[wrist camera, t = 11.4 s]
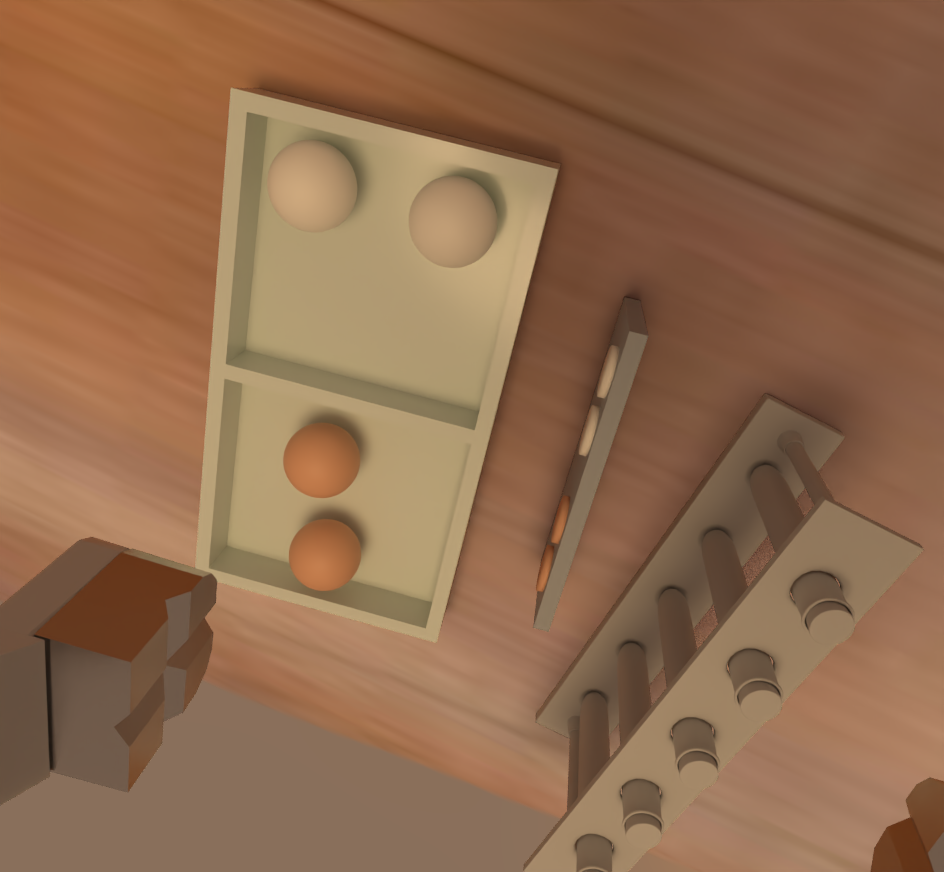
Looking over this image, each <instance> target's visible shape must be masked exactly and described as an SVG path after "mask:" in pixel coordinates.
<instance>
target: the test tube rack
mask: <svg viewBox="0 0 944 872" xmlns="http://www.w3.org/2000/svg"><path fill="white" fill-rule="evenodd" d="M844 438H845V437H844V436H843V434H842V433H841V432H840V431H838V430H837V429H835V428H833V427H831V426H829V425H827V424H825V423H823V422H821V421H819V420H817V419H815V418H813V417H811V416H809V415H807V414H805V413H803V412H801V411H799V410H797V409H795V408H794V407H792V406H790V405H788V404H786V403H784V402H782V401H780V400H778V399H776V398H774V397H772V396H770V395H768V394H766V393H765V394H764V395H763V396H762V398H761V399H760V400H759V402H758V403H757V405H756V406H755V407H754V409H753V410H752V412H751V413H750V415H749V416H748V417H747V419H746V420H745V422H744V423H743V424H742V426H741V427H740V429H739V430H738V431H737V433H736V434H735V436H734V437H733V438H732V440H731V441H730V443H729V444H728V446H727V447H726V448H725V450H724V451H723V453H722V454H721V455H720V457H719V458H718V460H717V461H716V462H715V464H714V465H713V467H712V468H711V469H710V471H709V472H708V474H707V475H706V476H705V478H704V479H703V481H702V482H701V483H700V485H699V486H698V488H697V489H696V490H695V492H694V493H693V495H692V496H691V497H690V499H689V500H688V502H687V503H686V504H685V506H684V507H683V509H682V510H681V511H680V513H679V514H678V516H677V517H676V518H675V520H674V521H673V523H672V524H671V525H670V527H669V528H668V530H667V531H666V533H665V534H664V535H663V537H662V538H661V540H660V541H659V542H658V544H657V545H656V547H655V548H654V549H653V551H652V552H651V554H650V555H649V556H648V558H647V559H646V561H645V562H644V563H643V565H642V566H641V568H640V569H639V570H638V572H637V573H636V575H635V576H634V577H633V579H632V580H631V582H630V583H629V584H628V586H627V587H626V589H625V590H624V591H623V593H622V594H621V596H620V597H619V598H618V600H617V601H616V603H615V604H614V605H613V607H612V608H611V610H610V611H609V612H608V614H607V615H606V617H605V618H604V619H603V621H602V622H601V624H600V625H599V627H598V628H597V629H596V631H595V632H594V634H593V635H592V636H591V638H590V639H589V641H588V642H587V643H586V645H585V646H584V648H583V649H582V650H581V652H580V653H579V655H578V656H577V657H576V659H575V660H574V662H573V663H572V664H571V666H570V667H569V669H568V670H567V671H566V673H565V674H564V676H563V677H562V678H561V680H560V681H559V683H558V684H557V685H556V687H555V688H554V690H553V691H552V692H551V694H550V695H549V697H548V698H547V699H546V701H545V702H544V704H543V705H542V706H541V708H540V709H539V711H538V712H537V713H536V721H535V722H536V723H538V724H540V725H542V726H544V727H546V728H548V729H550V730H553V731H555V732H557V733H559V734H561V735H563V736H565V737H567V738H570V746H569V773H568V800H567V812H566V813H565V814H564V816H563V817H562V818H561V819H560V821H559V822H558V823H557V824H556V825H555V827H554V828H553V829H552V830H551V832H550V833H549V834H548V835H547V837H546V838H545V839H544V840H543V842H542V843H541V844H540V845H539V846H538V848H537V849H536V850H535V851H534V853H533V854H532V855H531V857H530V858H529V859H528V860H527V862H526V863H525V864H524V868H523V871H524V872H628V871H629V870H630V869H631V868H632V867H633V866H634V865H635V864H636V862H637V861H638V860H639V859H640V858H641V857H642V856H643V855H644V854H645V853H646V852H647V851H648V849H650V848H653V847H655V846H657V845H658V844H659V843H660V841H661V839H662V834H663V833H664V832H665V831H666V830H667V829H668V828H669V827H670V825H671V824H672V823H673V822H674V821H675V820H676V819H677V818H678V817H679V816H680V815H681V814H682V812H683V811H684V810H685V809H686V808H687V807H688V806H689V805H690V804H691V803H692V802H693V800H694V799H695V798H696V797H697V796H698V795H699V794H700V793H701V792H702V791H703V790H704V789H705V788H708V787H710V786H712V785H713V784H714V783H715V782H716V781H717V779H718V773H719V772H720V771H721V770H722V769H723V768H724V767H725V766H726V765H727V763H728V762H729V761H730V760H731V759H732V758H733V757H734V756H735V755H736V754H737V753H738V752H739V750H740V749H741V748H742V747H743V746H744V745H745V744H746V743H747V742H748V741H749V740H750V738H751V737H752V736H753V735H754V734H755V733H756V732H757V731H758V730H759V729H760V728H761V727H762V725H763V724H764V723H765V722H766V721H768V720H771V719H773V718H775V717H776V716H777V715H778V714H779V713H780V711H781V709H782V704H783V703H784V702H785V700H786V699H787V698H788V697H789V696H790V695H791V694H792V693H793V692H794V691H795V690H796V688H797V687H798V686H799V685H800V684H801V683H802V682H803V681H804V680H805V679H806V678H807V676H808V675H809V674H810V673H811V672H812V671H813V670H814V669H815V668H816V667H817V666H818V665H819V663H820V662H821V661H822V660H823V659H824V658H825V657H826V656H827V655H828V654H829V653H830V651H831V650H832V649H833V648H834V647H835V646H836V645H837V644H840V643H842V642H844V641H846V640H847V639H848V638H849V637H850V636H851V635H852V633H853V632H854V629H855V624H856V623H857V622H858V621H859V620H860V619H861V618H862V617H863V616H864V615H865V613H866V612H867V611H868V610H869V609H870V608H871V607H872V606H873V605H874V604H875V603H876V602H877V600H878V599H879V598H880V597H881V596H882V595H883V594H884V593H885V592H886V591H887V590H888V588H889V587H890V586H891V585H892V584H893V583H894V582H895V581H896V580H897V579H898V578H899V576H900V575H901V574H902V573H903V572H904V571H905V570H906V569H907V568H908V567H909V566H910V564H911V563H912V562H913V561H914V560H915V559H916V558H917V557H918V556H919V555H920V554H921V552H922V551H923V550H924V549H923V547H922V546H921V545H920V544H919V543H917V542H915V541H913V540H911V539H909V538H907V537H905V536H903V535H901V534H899V533H897V532H895V531H893V530H891V529H889V528H887V527H885V526H883V525H881V524H879V523H877V522H875V521H873V520H871V519H869V518H867V517H865V516H863V515H861V514H859V513H857V512H855V511H853V510H852V509H850V508H848V507H846V506H844V505H842V504H840V503H838V502H836V501H835V500H834V498H833V496H832V495H831V493H830V491H829V490H828V488H827V486H826V485H825V483H824V481H823V480H822V478H821V476H820V475H819V473H818V471H819V470H820V469H821V467H822V466H823V465H824V464H825V462H826V461H827V460H828V459H829V457H830V456H831V455H832V454H833V452H834V451H835V450H836V448H837V447H838V446H839V445H840V443H841V442H842V441H843V440H844ZM805 488H806V490H807V492H808V494H809V496H810V498H811V499H812V501H813V503H814V506H813V508H812V509H811V510H810V511H809V512H808V514H807V515H806V516H805V517H804V515H803V513H802V511H801V509H800V507H799V505H798V503H797V501H796V499H797V498H798V496H799V495H800V494H801V493H802V491H803V490H804V489H805ZM767 536H769V538H770V541H771V543H772V546H773V548H774V551H775V554H774V556H773V557H772V558H771V559H770V561H769V562H768V563H767V564H766V566H765V567H764V568H763V569H762V571H761V572H760V573H759V574H758V576H757V577H756V578H755V579H754V580H753V582H752V583H751V584H750V585H749V587H748V586H747V582H746V579H745V576H744V573H743V570H742V567H743V566H744V565H745V563H746V562H747V561H748V560H749V558H750V557H751V556H752V555H753V553H754V552H755V551H756V549H757V548H758V547H759V546H760V544H761V543H762V542H763V541H764V539H765V538H766V537H767ZM835 578H837V580H838V581H839V583H840V587H839V585H838V583H837V581H836V579H835ZM790 591H791V593H792V596H793V598H794V601H793V599H792V597H791V596H790ZM713 604H714V608H715V612H716V616H717V620H718V625H717V626H716V628H715V629H714V630H713V631H712V632H711V634H710V635H709V636H708V637H707V639H706V640H705V641H704V642H703V644H702V645H701V646H700V647H699V649H698V650H697V646H696V641H695V635H694V630H693V629H694V628H695V627H696V625H697V624H698V623H699V621H700V620H701V619H702V618H703V616H704V615H705V614H706V613H707V611H708V610H709V609H710V608H711V606H712V605H713ZM769 655H770V656H771V658H772V660H773V665H772V662H771V659H770V656H769ZM727 663H728V667H729V671H730V673H729V671H728V670H727ZM663 667H664V669H665V677H666V685H667V688H666V689H665V691H664V692H663V693H662V694H661V696H660V697H659V698H658V699H657V701H656V702H655V703H654V704H653V705H652V707H651V697H650V687H649V685H650V683H651V682H652V681H653V680H654V678H655V677H656V676H657V675H658V673H659V672H660V671H661V669H662V668H663ZM618 724H619V728H620V746H619V748H618V749H617V750H616V751H615V752H614V754H613V755H612V756H611V757H610V749H609V735H610V734H611V733H612V731H613V730H614V729H615V728H616V726H617V725H618ZM711 725H712V726H711ZM712 727H713V728H714V735H713V732H712ZM671 729H672V734H673V737H672V736H671ZM621 788H622V795H621ZM659 788H660V789H661V795H660V793H659ZM612 844H613V849H612Z"/></svg>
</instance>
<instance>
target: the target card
mask: <svg viewBox="0 0 944 872" xmlns="http://www.w3.org/2000/svg"><path fill="white" fill-rule="evenodd" d="M647 338H648V332H647V328H646V324H645V319H644V315H643V310H642V306H641V302H640V301H639V300H635V299H631V298H627V297H624V300H623V303H622V306H621V309H620V312H619V315H618V319H617V322H616V325H615V328H614V331H613V334H612V338H611V341H610V344H609V347H608V350H607V353H606V357H605V360H604V363H603V366H602V369H601V373H600V376H599V379H598V382H597V385H596V388H595V392H594V395H593V398H592V401H591V404H590V407H589V411H588V414H587V417H586V420H585V423H584V426H583V430H582V433H581V436H580V439H579V442H578V445H577V449H576V452H575V455H574V458H573V461H572V465H571V468H570V471H569V474H568V477H567V480H566V484H565V487H564V490H563V493H562V496H561V499H560V503H559V506H558V509H557V512H556V515H555V518H554V522H553V525H552V528H551V531H550V534H549V538H548V541H547V544H546V547H545V550H544V553H543V557H542V560H541V565H540V570H539V574H538V579H537V585H536V591H537V600H536V608H535V617H534V626H533V628H537V629H540V630H544V631H547V632H549V629H550V626H551V623H552V620H553V617H554V614H555V611H556V608H557V605H558V603H559V600H560V597H561V594H562V591H563V588H564V585H565V582H566V579H567V576H568V573H569V570H570V567H571V564H572V561H573V558H574V555H575V552H576V549H577V546H578V543H579V540H580V537H581V534H582V531H583V528H584V525H585V522H586V519H587V516H588V513H589V511H590V508H591V505H592V502H593V499H594V496H595V493H596V490H597V487H598V484H599V481H600V478H601V475H602V472H603V469H604V466H605V463H606V460H607V457H608V454H609V451H610V448H611V445H612V442H613V439H614V436H615V433H616V430H617V427H618V424H619V422H620V419H621V416H622V413H623V410H624V407H625V404H626V401H627V398H628V395H629V392H630V389H631V386H632V383H633V380H634V377H635V374H636V371H637V368H638V365H639V362H640V359H641V356H642V353H643V350H644V347H645V344H646V341H647Z"/></svg>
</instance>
